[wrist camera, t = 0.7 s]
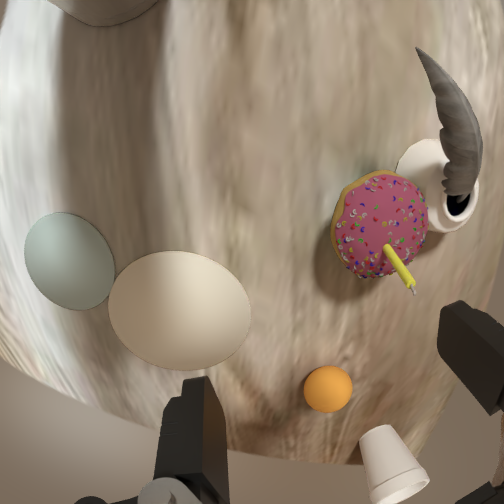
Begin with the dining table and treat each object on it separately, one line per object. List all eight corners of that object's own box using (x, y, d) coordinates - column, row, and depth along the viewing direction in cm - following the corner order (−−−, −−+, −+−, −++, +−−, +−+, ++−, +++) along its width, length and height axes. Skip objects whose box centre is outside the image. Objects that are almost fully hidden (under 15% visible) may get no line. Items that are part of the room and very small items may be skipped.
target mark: (81, 292, 27) (81, 293, 27) (203, 222, 26) (203, 223, 26) (162, 383, 33) (162, 385, 33) (274, 337, 32) (274, 338, 32)
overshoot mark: (9, 245, 24) (8, 246, 24) (74, 191, 23) (73, 192, 23) (65, 322, 28) (65, 323, 28) (135, 283, 28) (135, 284, 27)
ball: (292, 369, 34) (302, 405, 29) (336, 348, 34) (352, 382, 29) (308, 394, 36) (319, 427, 31) (348, 375, 36) (363, 407, 31)
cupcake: (356, 268, 30) (420, 346, 19) (293, 216, 27) (347, 287, 16) (412, 203, 27) (499, 253, 17) (357, 141, 25) (449, 165, 14)
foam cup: (344, 454, 45) (366, 513, 34) (357, 427, 42) (385, 493, 30) (391, 442, 46) (415, 495, 35) (407, 413, 43) (439, 471, 31)
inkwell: (415, 246, 29) (475, 294, 20) (315, 94, 23) (374, 84, 14) (470, 192, 28) (536, 224, 19) (389, 41, 21) (463, 21, 12)
